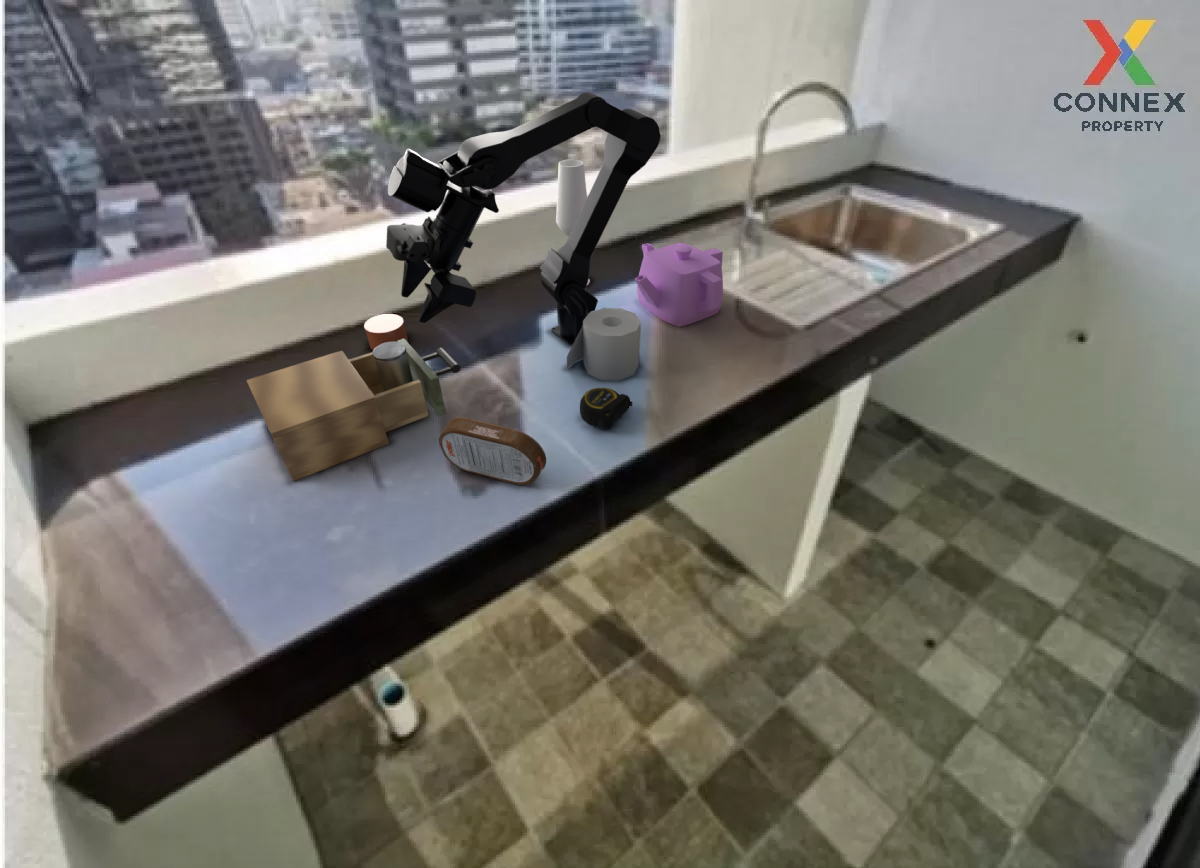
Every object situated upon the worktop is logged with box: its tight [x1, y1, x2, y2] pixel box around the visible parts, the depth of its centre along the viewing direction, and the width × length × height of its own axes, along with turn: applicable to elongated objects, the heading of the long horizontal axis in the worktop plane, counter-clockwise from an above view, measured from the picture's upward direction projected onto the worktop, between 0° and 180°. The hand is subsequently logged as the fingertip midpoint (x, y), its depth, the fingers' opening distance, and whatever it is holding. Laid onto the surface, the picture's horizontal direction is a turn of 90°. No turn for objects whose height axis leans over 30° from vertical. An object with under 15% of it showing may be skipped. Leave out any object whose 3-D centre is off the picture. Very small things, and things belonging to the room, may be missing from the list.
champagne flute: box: [555, 158, 591, 286], centre depth 121 cm, size 7×7×24 cm
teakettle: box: [634, 242, 724, 328], centre depth 117 cm, size 17×17×12 cm
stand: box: [363, 313, 409, 351], centre depth 109 cm, size 7×7×4 cm
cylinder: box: [372, 342, 413, 392], centre depth 91 cm, size 5×5×8 cm
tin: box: [438, 416, 547, 486], centre depth 81 cm, size 15×3×8 cm, turn 71°
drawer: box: [348, 339, 462, 433], centre depth 93 cm, size 17×13×7 cm
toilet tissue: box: [566, 307, 642, 382], centre depth 101 cm, size 9×13×9 cm
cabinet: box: [246, 350, 390, 482], centre depth 87 cm, size 14×15×9 cm
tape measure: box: [579, 387, 634, 430], centre depth 92 cm, size 7×7×4 cm
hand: (412, 309), depth 98 cm, fingers open, 7 cm apart
